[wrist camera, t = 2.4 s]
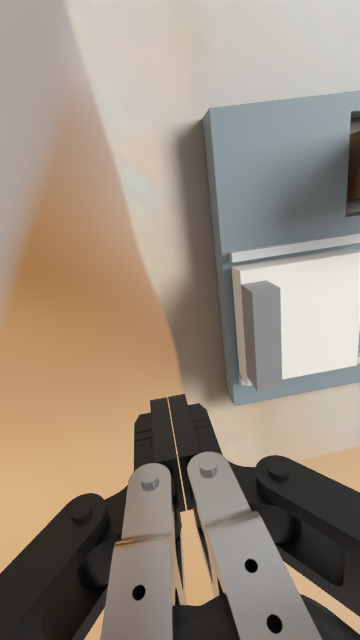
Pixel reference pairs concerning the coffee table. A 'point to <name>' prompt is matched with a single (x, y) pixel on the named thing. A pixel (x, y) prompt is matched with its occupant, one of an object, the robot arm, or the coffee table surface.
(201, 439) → the robot arm
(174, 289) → the coffee table surface
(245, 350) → the lid
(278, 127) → the puzzle board
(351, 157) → the walnut post
